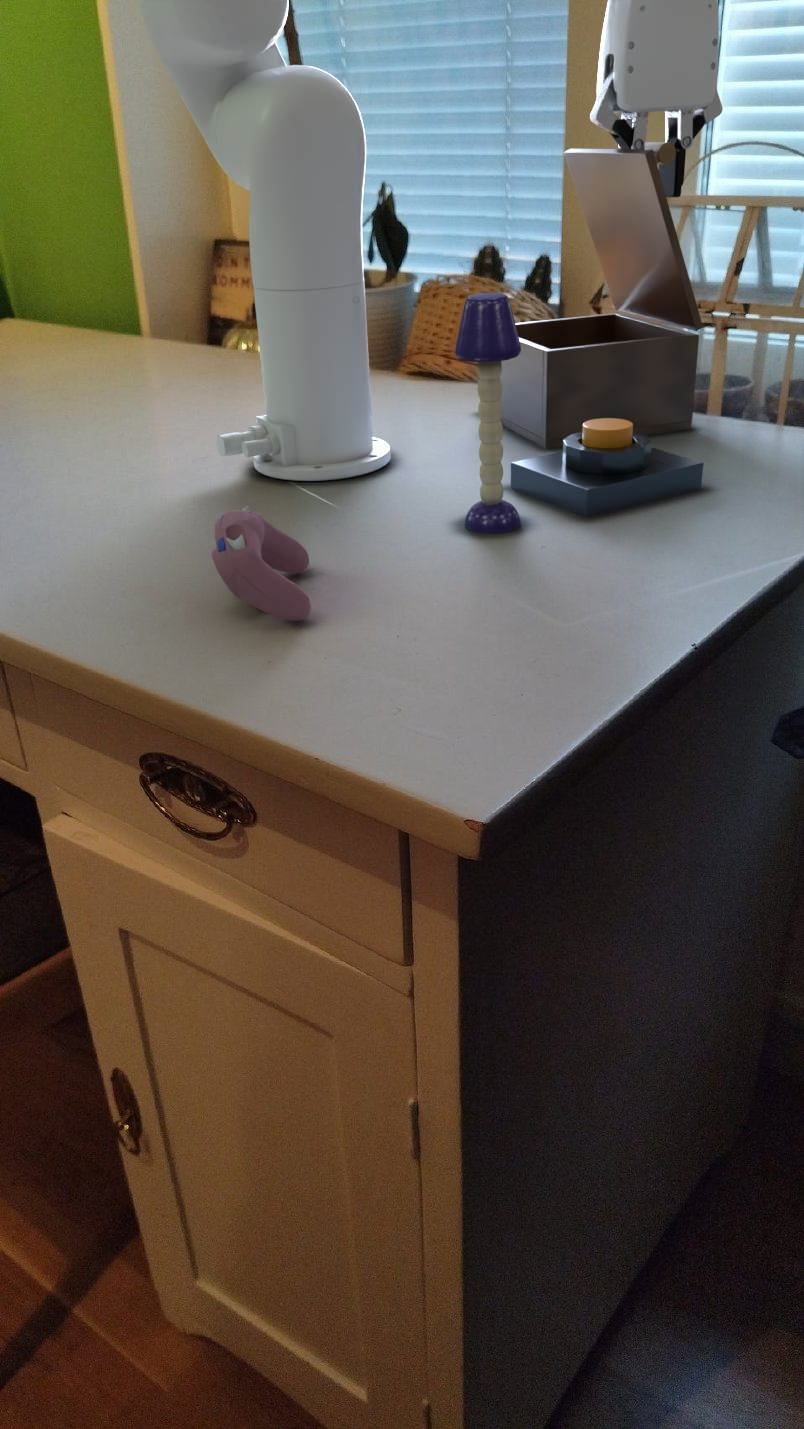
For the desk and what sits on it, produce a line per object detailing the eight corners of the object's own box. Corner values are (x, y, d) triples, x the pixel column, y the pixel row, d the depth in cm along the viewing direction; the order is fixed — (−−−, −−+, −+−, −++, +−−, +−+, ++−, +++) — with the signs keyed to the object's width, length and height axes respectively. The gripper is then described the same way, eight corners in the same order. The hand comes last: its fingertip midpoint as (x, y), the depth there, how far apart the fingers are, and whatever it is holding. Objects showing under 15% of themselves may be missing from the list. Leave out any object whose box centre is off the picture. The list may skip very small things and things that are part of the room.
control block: (586, 518, 85) (588, 467, 83) (510, 488, 92) (510, 440, 90) (701, 489, 90) (706, 440, 88) (620, 463, 98) (623, 417, 96)
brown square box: (545, 448, 103) (547, 351, 99) (481, 414, 116) (480, 326, 112) (691, 429, 107) (699, 334, 103) (614, 397, 120) (618, 312, 116)
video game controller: (259, 592, 78) (204, 510, 75) (315, 561, 77) (261, 476, 74) (255, 650, 69) (192, 560, 66) (317, 615, 69) (256, 523, 65)
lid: (645, 154, 94) (698, 123, 94) (563, 152, 107) (610, 125, 107) (696, 331, 102) (744, 303, 103) (615, 310, 116) (658, 284, 116)
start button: (603, 455, 87) (604, 432, 86) (571, 444, 90) (572, 423, 89) (642, 446, 89) (643, 424, 88) (609, 436, 92) (610, 415, 91)
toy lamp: (516, 537, 81) (517, 299, 74) (454, 536, 82) (449, 300, 74) (523, 517, 86) (525, 289, 78) (463, 515, 87) (460, 290, 79)
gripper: (722, -33, 100) (705, 190, 109) (560, -30, 96) (556, 202, 105) (772, -45, 94) (750, 193, 103) (601, -42, 89) (593, 206, 98)
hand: (652, 196), depth 103 cm, fingers closed
